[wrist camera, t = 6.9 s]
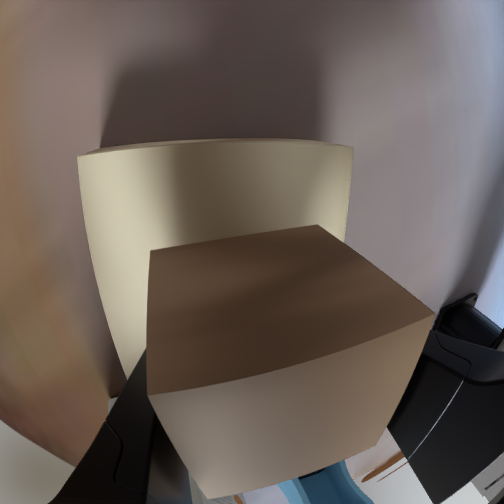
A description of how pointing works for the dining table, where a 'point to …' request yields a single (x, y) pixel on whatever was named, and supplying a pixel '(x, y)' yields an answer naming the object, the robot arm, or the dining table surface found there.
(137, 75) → the dining table surface
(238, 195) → the cream square block
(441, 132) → the dining table surface
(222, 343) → the walnut cube
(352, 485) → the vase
